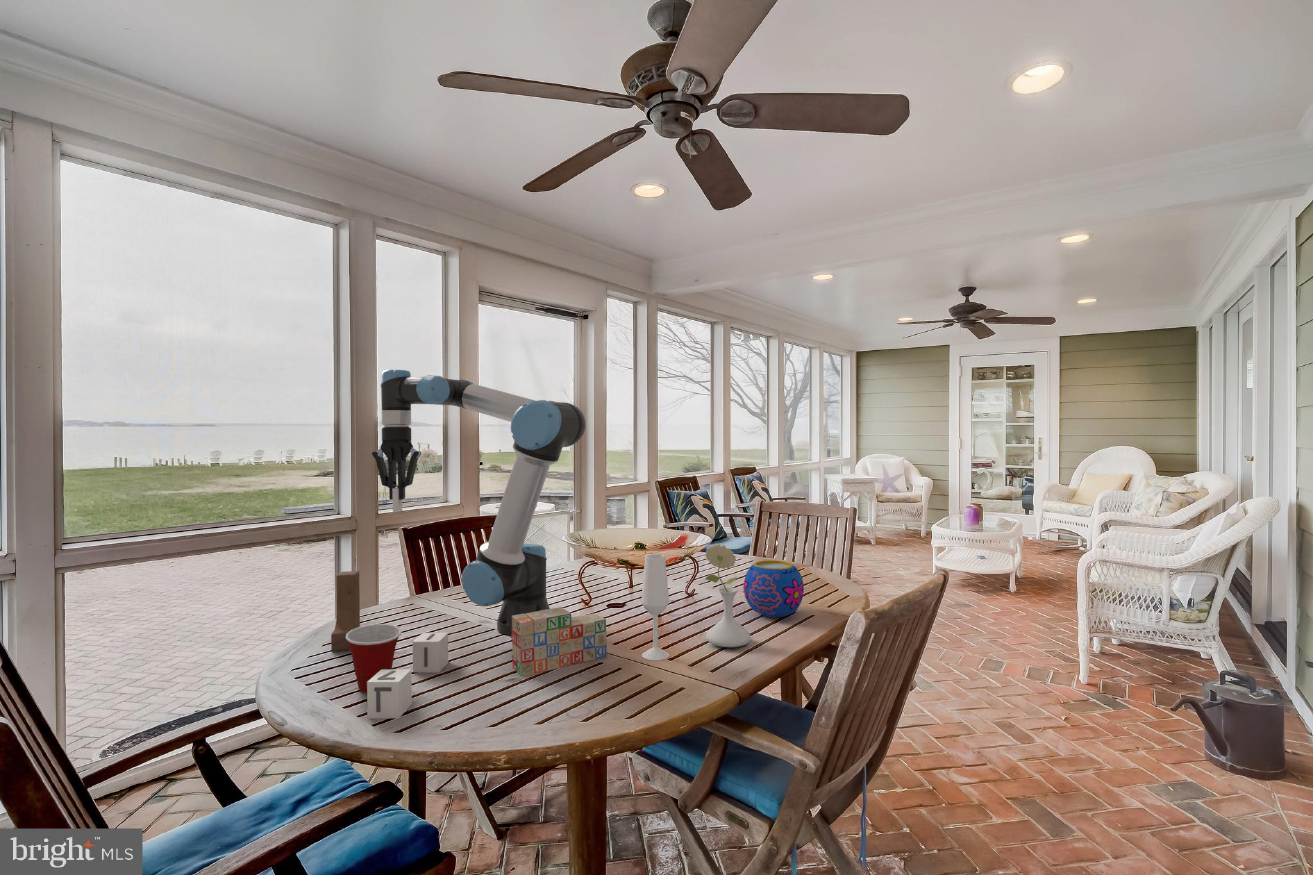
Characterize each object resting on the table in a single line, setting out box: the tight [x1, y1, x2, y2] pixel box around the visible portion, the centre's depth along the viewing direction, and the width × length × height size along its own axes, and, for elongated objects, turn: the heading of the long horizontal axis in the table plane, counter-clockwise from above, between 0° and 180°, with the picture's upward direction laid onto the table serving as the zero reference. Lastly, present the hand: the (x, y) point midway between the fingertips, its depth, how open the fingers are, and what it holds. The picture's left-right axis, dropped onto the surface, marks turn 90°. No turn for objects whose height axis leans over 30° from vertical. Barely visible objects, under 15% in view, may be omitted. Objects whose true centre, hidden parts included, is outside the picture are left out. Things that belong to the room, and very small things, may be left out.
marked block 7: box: [366, 668, 413, 719], centre depth 118 cm, size 6×6×7 cm
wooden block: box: [330, 570, 361, 652], centre depth 155 cm, size 9×4×18 cm, turn 12°
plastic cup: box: [346, 623, 402, 693], centre depth 129 cm, size 11×11×12 cm
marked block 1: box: [412, 632, 449, 673], centre depth 140 cm, size 6×6×7 cm
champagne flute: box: [641, 553, 670, 661], centre depth 147 cm, size 7×7×24 cm
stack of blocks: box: [511, 606, 608, 677], centre depth 142 cm, size 21×6×12 cm, turn 122°
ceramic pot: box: [742, 559, 805, 618], centre depth 178 cm, size 18×18×15 cm
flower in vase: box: [704, 543, 752, 648], centre depth 155 cm, size 13×11×25 cm
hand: (397, 511), depth 168 cm, fingers closed
